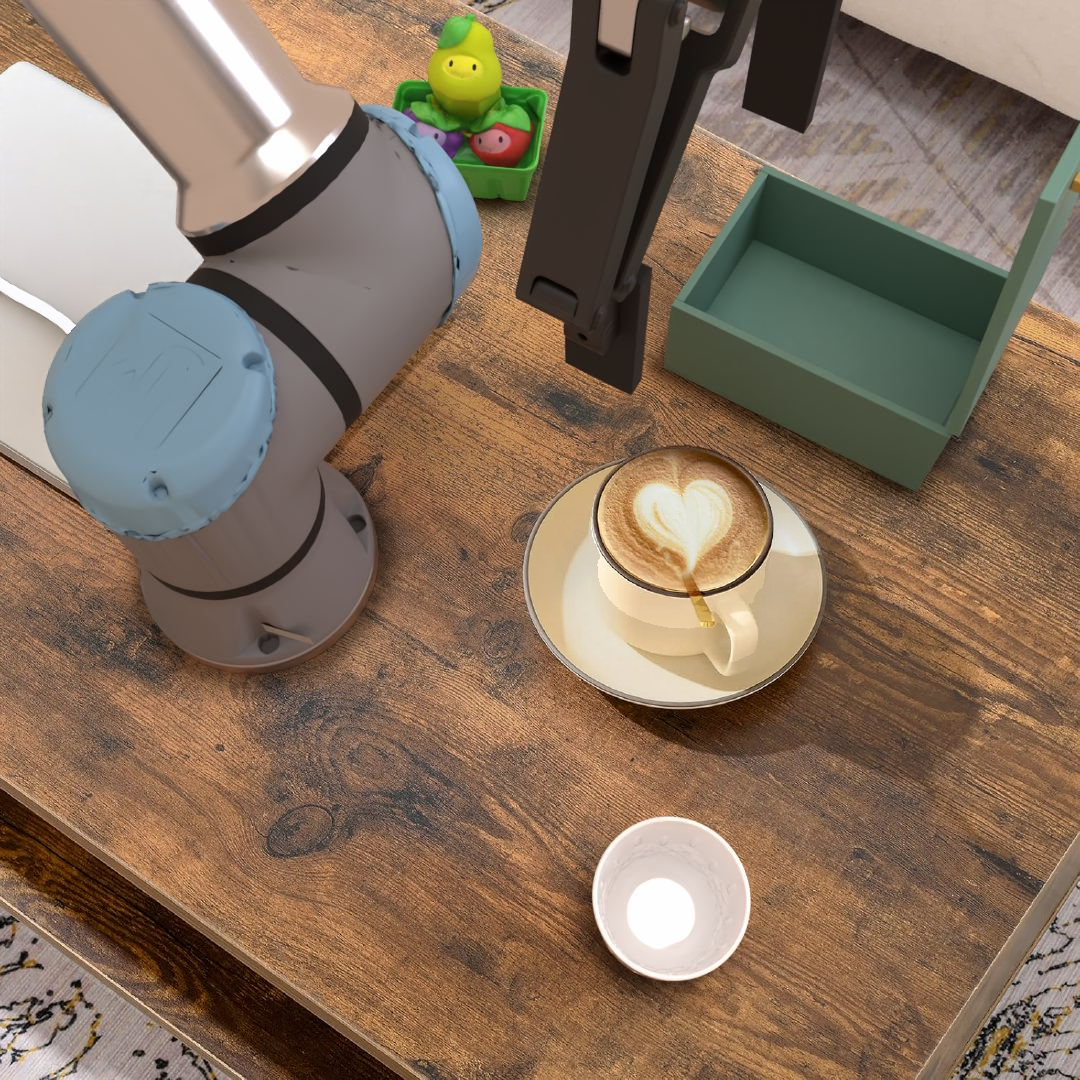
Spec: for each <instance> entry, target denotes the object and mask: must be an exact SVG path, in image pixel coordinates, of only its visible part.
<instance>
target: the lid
mask: <svg viewBox="0 0 1080 1080" xmlns="http://www.w3.org/2000/svg"><path fill="white" fill-rule="evenodd" d="M1079 196H1080V122H1079V123H1078V125H1077V127H1076V128H1075V130H1074V132H1073V134H1072V136H1071V138H1070V140H1069V141H1068V144H1067V145H1066V147H1065V149H1064V151H1063V152H1062V155H1061V156H1060V158H1059V160H1058V161H1057V164H1056V165H1055V167H1054V169H1053V170H1052V173H1051V175H1050V176H1049V178H1048V180H1047V182H1046V184H1045V185H1044V187H1043V189H1042V191H1041V193H1040V194H1039V196H1038V199H1037V201H1036V204H1035V207H1034V208H1033V211H1032V214H1031V217H1030V219H1029V221H1028V224H1027V226H1026V229H1025V231H1024V234H1023V236H1022V239H1021V241H1020V244H1019V246H1018V249H1017V252H1016V254H1015V257H1014V259H1013V262H1012V264H1011V267H1010V269H1009V271H1008V272H1009V274H1008V277H1007V279H1006V282H1005V284H1004V287H1003V289H1002V292H1001V294H1000V297H999V299H998V302H997V304H996V307H995V309H994V312H993V315H992V317H991V320H990V322H989V325H988V327H987V330H986V332H985V335H984V337H983V340H982V342H981V345H980V347H979V350H978V352H977V355H976V357H975V360H974V362H973V365H972V367H971V370H970V373H969V375H968V378H967V380H966V383H965V385H964V388H963V390H962V393H961V395H960V398H959V400H958V403H957V405H956V408H955V410H954V413H953V415H952V418H951V420H950V423H949V425H948V428H947V432H948V433H950V434H952V436H955V437H960V436H961V433H962V432H963V430H964V428H965V426H966V424H967V422H968V421H969V418H970V417H971V415H972V413H973V410H974V409H975V407H976V405H977V403H978V401H979V399H980V397H981V396H982V394H983V392H984V390H985V388H986V386H987V384H988V382H989V381H990V379H991V377H992V376H993V373H994V371H995V369H996V367H997V365H998V363H999V361H1000V359H1001V358H1002V356H1003V353H1004V352H1005V350H1006V348H1007V347H1008V345H1009V342H1010V341H1011V340H1012V339H1011V338H1012V337H1013V335H1014V332H1016V330H1017V327H1018V325H1019V324H1020V322H1021V320H1022V318H1023V316H1024V314H1025V312H1026V310H1027V309H1028V306H1029V305H1030V303H1031V301H1032V299H1033V297H1034V295H1035V293H1036V292H1037V290H1038V288H1039V285H1041V282H1042V280H1043V278H1044V275H1045V274H1046V271H1047V269H1048V266H1049V264H1050V262H1051V260H1052V257H1053V255H1054V253H1055V250H1056V248H1057V247H1058V244H1059V242H1060V239H1061V237H1062V235H1063V232H1064V230H1065V228H1066V225H1067V223H1068V221H1069V218H1070V216H1071V215H1072V212H1073V210H1074V207H1075V205H1076V203H1077V201H1078V198H1079Z"/></svg>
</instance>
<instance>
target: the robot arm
mask: <svg viewBox="0 0 1080 1080" xmlns="http://www.w3.org/2000/svg"><path fill="white" fill-rule="evenodd" d="M18 1H19V2H20V4H21V5H22V6H23V7H24V8H25V9H26V10H27V12H29V14H30V15H31V16H32V17H33V18H34V20H35V21H36V22H37V23H38V24H39V26H40V27H41V28H42V29H43V30H44V31H45V32H46V34H47V35H48V36H49V37H50V38H51V39H52V41H53V42H54V44H56V46H57V47H58V48H59V49H60V50H61V51H62V52H63V54H65V56H66V57H67V58H68V59H69V60H70V61H71V63H72V64H73V65H74V66H75V67H76V68H77V70H78V71H79V73H81V74H82V75H83V77H84V78H85V79H86V80H87V81H88V83H90V85H91V86H92V87H93V88H94V90H95V91H96V92H97V93H98V94H99V95H100V96H101V98H103V100H104V101H105V102H106V103H107V104H108V106H109V107H110V108H111V110H112V111H114V113H115V114H116V115H117V116H118V117H119V119H121V121H122V122H123V123H124V124H125V126H126V127H127V128H128V129H129V130H130V131H131V132H132V134H134V136H135V137H136V138H137V139H138V140H139V141H140V143H141V144H142V145H143V147H145V149H146V150H147V151H148V152H149V153H150V154H151V156H152V157H153V158H154V159H155V160H156V162H157V163H159V165H160V166H161V167H162V169H163V170H164V171H165V172H166V173H167V174H168V175H169V176H170V178H171V179H172V180H173V181H174V182H175V186H176V202H175V203H176V206H175V225H176V228H177V229H178V231H179V232H180V233H181V234H182V235H183V236H184V237H185V239H186V240H187V241H188V242H189V244H190V245H192V247H193V248H194V249H195V251H197V252H198V254H199V255H200V257H201V258H202V260H203V261H202V262H201V264H200V265H199V266H198V267H197V268H196V270H194V272H193V273H192V274H191V275H190V276H189V277H188V278H186V280H185V281H157V282H153V283H152V282H151V283H148V285H147V287H146V291H141V292H135V291H133V290H130V289H125V290H123V291H121V292H119V293H117V294H114V295H113V296H111V297H109V298H107V299H105V300H104V301H102V302H101V303H100V304H97V306H95V307H94V308H93V309H91V310H90V311H89V312H88V313H87V314H85V315H84V316H83V317H82V318H81V319H80V320H79V321H78V322H77V323H76V326H75V327H74V328H73V329H72V330H71V332H70V333H69V334H68V335H66V337H65V338H64V340H63V341H62V342H61V344H60V346H59V347H58V349H57V351H56V353H55V355H54V357H53V360H52V361H51V364H50V366H49V369H48V372H47V374H46V377H45V382H44V386H43V392H42V393H43V394H42V398H41V408H42V410H41V411H42V419H43V433H44V438H45V441H46V444H47V447H48V451H49V453H50V455H51V457H52V460H53V461H54V463H55V464H56V466H57V468H58V471H60V472H61V474H62V475H63V477H64V478H65V479H66V481H67V484H68V485H69V488H70V489H71V491H72V494H73V495H74V496H75V498H76V499H77V501H78V503H79V504H80V505H81V506H82V508H83V509H84V510H85V511H86V512H87V513H88V514H89V515H90V516H91V517H92V518H93V519H94V520H96V521H97V522H98V523H100V524H101V525H102V526H104V527H105V528H106V529H108V530H109V531H110V532H111V533H112V534H113V535H114V536H115V537H116V539H118V541H120V543H121V544H122V545H123V546H124V548H125V549H127V550H128V551H129V553H131V555H132V556H133V557H134V558H135V559H136V560H137V563H138V565H137V566H138V579H139V585H140V590H141V594H142V596H143V600H144V603H145V605H146V607H147V610H148V612H149V614H150V616H151V618H152V620H153V621H154V622H155V623H156V625H157V627H158V628H159V629H160V630H161V631H162V632H163V634H164V635H165V636H166V637H167V638H168V639H170V641H171V642H172V643H173V644H174V645H175V646H176V647H178V648H179V649H180V650H181V651H182V652H183V653H185V655H186V654H187V656H189V657H191V658H192V659H194V660H196V661H197V662H199V663H201V664H203V665H205V666H207V667H210V668H213V669H217V670H220V671H224V672H228V673H229V672H230V673H234V674H247V675H249V674H253V675H255V674H266V673H267V674H268V673H273V672H279V671H282V670H286V669H291V668H293V667H296V666H298V665H300V664H303V663H305V662H307V661H310V660H312V659H314V658H315V657H317V656H318V655H320V654H322V653H323V652H325V651H326V650H327V649H330V647H332V646H333V645H335V644H336V643H337V642H338V641H339V640H340V639H341V638H343V636H344V635H346V634H347V632H348V631H349V630H350V629H351V628H352V626H354V624H355V622H357V620H358V619H359V617H360V616H361V614H362V613H363V611H364V609H365V607H366V606H367V604H368V602H369V600H370V598H371V595H372V592H373V589H374V587H375V583H376V579H377V574H378V569H379V557H380V552H379V542H378V534H377V531H376V527H375V524H374V521H373V518H372V517H371V513H370V511H369V508H368V506H367V505H366V502H365V500H364V498H363V496H362V495H361V493H360V492H359V491H358V489H357V488H356V487H355V486H354V485H353V483H352V481H350V480H349V478H348V477H346V476H345V475H344V474H343V473H341V472H340V471H339V470H338V469H337V468H336V467H335V466H333V465H331V463H329V462H327V461H325V460H324V459H325V458H326V457H327V455H329V453H330V452H331V451H332V450H333V448H334V447H335V446H336V445H337V444H338V443H339V441H340V440H341V439H342V438H343V437H344V435H345V434H346V433H347V432H348V431H349V429H350V428H351V427H352V426H353V425H354V423H355V422H356V421H357V420H358V419H359V418H360V417H362V415H363V414H364V413H365V411H366V410H367V409H368V408H369V407H370V406H371V404H372V403H374V401H375V400H376V399H377V398H378V396H379V395H380V394H381V393H382V392H383V391H384V389H385V388H386V387H387V386H388V385H389V383H391V381H392V380H393V379H394V378H395V377H396V376H397V374H398V373H399V372H400V371H401V370H402V369H403V368H404V366H405V365H406V364H407V363H408V361H410V359H411V358H412V357H413V356H414V355H415V354H416V352H417V351H418V350H419V349H420V347H422V345H423V344H424V343H425V341H426V340H428V338H429V337H430V336H431V335H432V334H433V333H434V331H435V330H436V331H437V330H438V329H440V328H442V326H443V325H444V324H445V323H446V322H447V321H448V320H449V318H450V317H451V314H452V312H453V310H454V307H455V305H456V303H457V302H458V300H459V299H460V298H461V296H462V295H463V294H464V293H465V291H466V290H467V289H468V288H469V286H470V285H471V284H472V282H473V281H474V279H475V277H476V275H477V274H478V271H479V268H480V261H481V258H482V255H483V247H484V239H483V238H484V237H483V227H482V223H481V219H480V214H479V212H478V208H477V204H476V202H475V200H474V197H472V195H471V193H470V191H469V188H468V186H467V184H466V183H465V181H464V179H463V177H462V175H461V174H460V172H459V170H458V169H457V167H456V166H455V164H454V163H453V161H452V160H451V159H450V157H449V156H448V155H447V153H446V152H445V151H444V150H443V149H442V147H441V146H440V145H439V144H438V143H437V142H436V141H435V140H434V139H433V138H432V137H431V136H430V135H425V136H423V137H422V136H421V134H420V133H419V131H418V128H417V125H416V123H415V122H414V121H413V120H412V119H410V118H409V117H407V116H406V115H404V114H402V113H401V112H399V111H397V110H395V109H392V107H389V106H387V105H386V106H385V105H382V104H379V103H365V104H359V103H358V101H357V100H356V98H355V97H354V95H353V94H352V93H351V92H350V91H349V90H348V88H345V87H343V86H338V85H332V84H327V83H326V84H325V83H321V82H316V81H310V80H309V79H307V78H305V77H304V76H303V74H302V73H301V72H300V71H299V69H298V68H297V66H296V65H295V64H294V62H293V60H291V57H289V56H288V54H287V52H285V50H284V49H283V48H282V46H281V45H280V43H279V42H278V41H277V39H276V38H275V37H274V35H273V34H272V32H271V31H270V29H269V28H268V27H267V26H266V24H265V23H264V21H263V20H262V19H261V17H260V16H259V14H258V13H257V12H256V10H255V9H254V7H253V6H252V5H251V4H250V3H249V1H248V0H18ZM688 3H690V4H694V5H695V6H698V7H701V8H703V9H705V10H708V11H711V12H713V13H718V14H723V16H722V19H721V21H720V24H719V26H718V27H717V29H716V31H715V32H713V33H712V32H709V31H707V30H705V29H702V28H700V27H697V26H695V25H692V17H691V16H690V15H688V14H687V12H688V7H689V6H688V5H689V4H688ZM843 3H844V0H572V3H571V16H570V17H571V18H570V35H569V50H568V54H567V59H566V63H565V67H564V73H563V77H562V82H561V86H560V91H559V94H558V98H557V103H556V108H555V111H554V117H553V120H552V124H551V125H552V126H551V130H550V135H549V139H548V143H547V147H546V153H545V157H544V161H543V166H542V170H541V175H540V179H539V185H538V188H537V191H536V192H537V193H536V197H535V201H534V206H533V210H532V216H531V219H530V224H529V228H528V233H527V237H526V240H525V241H526V242H525V246H524V250H523V255H522V260H521V262H520V263H521V264H520V268H519V271H518V272H519V273H518V277H517V282H516V285H515V293H514V296H515V299H516V300H517V301H521V302H522V303H525V304H526V305H529V306H530V307H532V308H534V309H536V310H538V311H540V312H542V313H544V314H546V315H548V316H551V317H552V318H554V319H556V320H558V321H561V322H563V335H564V363H565V364H566V365H569V366H571V367H573V368H575V369H576V370H579V371H580V372H583V373H585V374H587V375H589V376H591V377H593V378H594V379H596V380H599V381H601V382H602V383H605V384H607V385H609V386H611V387H613V388H614V389H617V390H619V391H621V392H623V393H625V394H626V395H628V396H630V397H632V395H633V394H634V393H635V391H636V389H637V388H638V386H639V385H640V383H641V382H642V379H643V371H644V370H643V369H644V360H645V350H646V339H647V338H646V337H647V329H648V320H649V319H648V318H649V309H650V298H651V291H652V290H651V289H652V280H653V279H652V277H653V267H652V266H649V265H648V264H645V263H644V262H643V261H644V258H645V255H646V253H647V250H648V248H649V245H650V242H651V240H652V238H653V234H654V232H655V230H656V227H657V225H658V221H659V219H660V216H661V214H662V211H663V208H664V206H665V203H666V201H667V198H668V196H669V193H670V190H671V188H672V186H673V183H674V180H675V177H676V174H677V172H678V169H679V168H680V165H681V162H682V159H683V156H684V154H685V151H686V149H687V146H688V144H689V141H690V138H691V137H692V133H693V130H694V127H695V125H696V123H697V120H698V117H699V115H700V112H701V109H702V107H703V104H704V102H705V99H706V96H707V94H708V92H709V88H710V86H711V84H712V81H713V78H714V77H715V76H716V74H717V73H718V72H720V71H724V70H728V69H731V68H732V67H734V66H735V65H736V64H737V63H738V61H739V59H740V58H741V55H742V53H743V50H744V48H745V45H746V43H747V40H748V38H749V35H750V32H751V29H752V28H753V25H754V22H755V19H756V24H755V30H754V34H753V41H752V47H751V52H750V58H749V63H748V69H747V74H746V75H747V76H746V81H745V86H744V92H743V96H742V97H743V98H742V102H741V109H743V110H746V111H748V112H750V113H752V114H755V115H757V116H760V117H762V118H764V119H767V120H769V121H771V122H773V123H776V124H778V125H780V126H783V127H785V128H788V129H791V130H792V131H795V132H797V133H800V134H802V135H804V134H805V133H806V131H807V129H808V128H809V126H810V125H811V124H812V122H813V118H814V115H815V110H816V107H817V103H818V100H819V95H820V91H821V87H822V84H823V80H824V75H825V71H826V68H827V64H828V60H829V56H830V53H831V48H832V44H833V42H834V41H833V40H834V37H835V33H836V28H837V25H838V21H839V17H840V13H841V9H842V6H843ZM756 17H757V18H756Z"/></svg>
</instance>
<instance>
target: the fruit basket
mask: <svg viewBox="0 0 1080 1080" xmlns="http://www.w3.org/2000/svg"><path fill="white" fill-rule="evenodd" d="M476 19H477V17H476V15H475V14H473V13H467V14H465V16H464V17H463V16H459V15H455V16H453V17H452V16H451V17H450V18H449V19H447V20H446V22H445V23H444V25H443V27H442V30H441V34H440V37H439V38H438V40H437V41H436V49H435V51H434V52H433V53H432V56H431V57H430V59H429V63H428V66H427V70H426V73H427V80H419V79H418V80H417V79H407V80H403V81H401V82H400V83H399V84H398V85H397V86H396V89H395V93H394V98H393V101H392V106H391V108H392V109H395V110H397V111H399V112H401V113H402V114H404V115H406V116H407V117H409V118H410V119H412V120H413V121H414V122H415V123H416V125H417V128H418V131H419V133H420V134H421V136H422V137H423V136H425V135H430V136H431V137H432V138H433V139H434V140H435V141H436V142H437V143H438V144H439V145H440V146H441V147H442V149H443V150H444V151H445V152H446V153H447V155H448V156H449V157H450V159H451V160H452V161H453V163H454V164H455V166H456V167H457V169H458V170H459V172H460V174H461V175H462V177H463V179H464V181H465V183H466V184H467V186H468V188H469V191H470V193H471V195H472V197H473V198H479V199H487V200H488V199H490V200H491V199H492V200H493V199H499V198H500V199H502V200H505V201H515V202H524V201H525V200H526V199H527V196H528V192H529V188H530V185H531V182H532V177H533V174H534V173H535V171H536V170H537V167H538V163H539V159H540V152H541V143H542V137H543V130H544V125H545V120H546V113H547V109H548V103H549V96H548V93H546V91H545V90H543V89H542V88H541V89H540V88H537V87H536V88H534V87H524V86H523V87H522V86H508V85H502V82H503V71H502V66H501V63H500V60H499V58H498V56H497V54H496V53H497V52H496V51H495V46H494V38H493V35H492V33H491V32H490V30H489V29H488V28H487V27H485V26H484V25H483V24H481V23H480V22H478V21H476Z"/></svg>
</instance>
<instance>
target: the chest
mask: <svg viewBox="0 0 1080 1080" xmlns="http://www.w3.org/2000/svg"><path fill="white" fill-rule="evenodd" d="M1009 272H1010V271H1009V270H1007V269H1004V268H1001V267H999V266H997V265H995V264H992V263H990V262H987V261H985V260H983V259H980V258H978V257H976V256H974V255H972V254H969V253H967V252H966V251H965V252H964V251H963V250H961V249H958V248H955V247H953V246H951V245H949V244H947V243H944V242H942V241H939V240H938V239H935V238H933V237H931V236H928V235H926V234H924V233H921V232H919V231H916V230H914V229H912V228H910V227H907V226H905V225H903V224H901V223H898V222H896V221H894V220H892V219H889V218H887V217H885V216H882V215H881V214H878V213H875V212H874V211H871V210H869V209H866V208H865V207H862V206H860V205H857V204H855V203H852V202H851V201H849V200H846V199H844V198H841V197H840V196H837V195H834V194H832V193H830V192H828V191H826V190H824V189H821V188H819V187H816V186H815V185H812V184H809V183H808V182H805V181H802V180H800V179H798V178H796V177H793V176H791V175H789V174H787V173H784V172H782V171H779V170H777V169H775V168H773V167H771V166H769V165H766V164H764V165H763V166H762V168H761V169H760V171H759V173H758V174H757V175H756V176H755V178H754V180H753V182H752V183H751V184H750V186H749V187H748V189H747V190H746V192H745V193H744V195H743V197H742V198H741V199H740V201H739V202H738V203H737V206H736V207H735V209H734V210H733V211H732V213H731V215H730V216H729V218H728V219H727V220H726V222H725V223H724V225H723V227H722V228H721V229H720V231H719V233H718V234H717V235H716V237H715V239H714V240H713V241H712V243H711V244H710V246H709V247H708V249H707V250H706V251H705V254H704V255H703V256H702V258H701V260H700V261H699V263H698V264H697V266H696V267H695V269H694V270H693V271H692V273H691V274H690V276H689V277H688V279H687V280H686V281H685V284H684V285H683V287H682V288H681V290H680V291H679V292H678V294H677V296H676V297H675V299H674V300H673V301H672V302H671V305H670V312H669V320H668V327H667V335H666V343H665V350H664V359H663V368H664V369H665V370H667V371H670V372H671V373H674V374H675V375H678V376H679V377H682V378H684V379H686V380H688V381H689V382H692V383H694V384H696V385H698V386H700V387H702V388H704V389H706V390H708V391H710V392H712V393H714V394H716V395H718V396H720V397H722V398H723V399H726V400H728V401H730V402H733V403H734V404H736V405H738V406H741V407H743V408H745V409H746V410H749V411H750V412H753V413H755V414H757V415H759V416H760V417H763V418H764V419H767V420H769V421H771V422H772V423H774V424H777V425H779V426H781V427H783V428H785V429H787V430H789V431H791V432H792V433H795V434H797V435H799V436H801V437H803V438H805V439H807V440H810V441H812V442H813V443H816V444H817V445H820V446H821V447H823V448H825V449H828V450H829V451H832V452H834V453H836V454H837V455H840V456H842V457H844V458H846V459H847V460H850V461H851V462H854V463H856V464H858V465H860V466H861V467H864V468H866V469H869V470H870V471H872V472H874V473H876V474H878V475H880V476H882V477H885V478H887V479H888V480H890V481H893V482H895V483H896V484H898V485H901V486H903V487H905V488H907V489H909V490H910V491H912V492H914V493H917V492H918V491H919V489H920V487H921V485H922V484H923V483H924V481H925V479H926V478H927V476H928V474H929V473H930V471H931V469H932V468H933V466H934V465H935V463H936V461H937V460H938V459H939V457H940V455H941V453H942V451H943V450H944V449H945V447H946V446H947V444H948V442H949V441H950V439H951V437H952V436H953V434H950V433H948V432H947V428H948V425H949V423H950V420H951V418H952V415H953V413H954V410H955V408H956V405H957V403H958V400H959V398H960V395H961V393H962V390H963V388H964V385H965V383H966V380H967V378H968V375H969V373H970V370H971V367H972V365H973V362H974V360H975V357H976V355H977V352H978V350H979V347H980V345H981V342H982V340H983V337H984V335H985V332H986V330H987V327H988V325H989V322H990V320H991V317H992V315H993V312H994V309H995V307H996V304H997V302H998V299H999V297H1000V294H1001V292H1002V289H1003V287H1004V284H1005V282H1006V279H1007V277H1008V274H1009Z"/></svg>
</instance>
